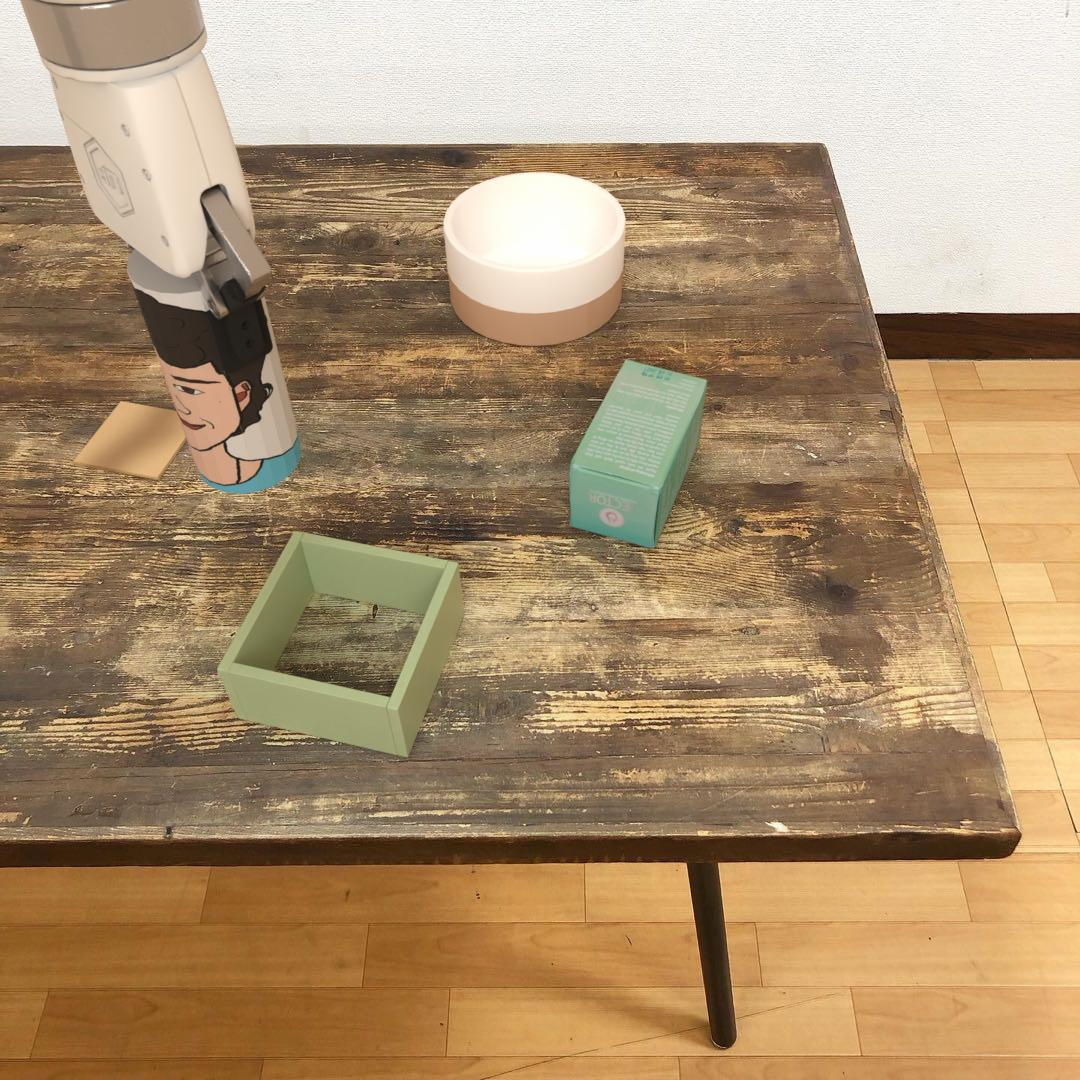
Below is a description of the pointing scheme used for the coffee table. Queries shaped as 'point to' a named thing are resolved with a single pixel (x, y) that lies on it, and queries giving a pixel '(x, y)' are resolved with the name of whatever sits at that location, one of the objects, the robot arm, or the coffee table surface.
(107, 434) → the coaster
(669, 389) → the box
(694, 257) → the coffee table surface
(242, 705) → the crate
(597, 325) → the bowl
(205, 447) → the grey printed cylinder
